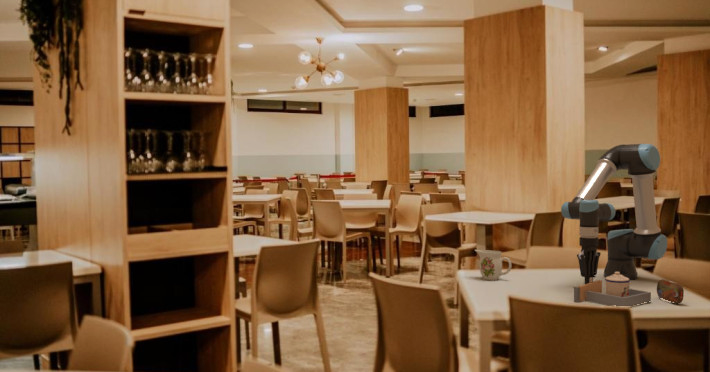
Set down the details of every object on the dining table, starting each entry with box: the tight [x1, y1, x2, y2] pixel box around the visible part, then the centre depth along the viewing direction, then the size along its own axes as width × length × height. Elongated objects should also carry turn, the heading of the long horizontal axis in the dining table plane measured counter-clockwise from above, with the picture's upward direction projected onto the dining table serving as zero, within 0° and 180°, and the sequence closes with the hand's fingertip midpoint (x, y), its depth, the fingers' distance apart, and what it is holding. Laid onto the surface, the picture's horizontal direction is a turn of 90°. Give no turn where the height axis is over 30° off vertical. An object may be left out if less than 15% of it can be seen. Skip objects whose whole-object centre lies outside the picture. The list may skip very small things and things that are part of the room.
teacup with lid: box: [605, 272, 631, 297], centre depth 255 cm, size 12×9×12 cm
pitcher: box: [474, 249, 512, 281], centre depth 306 cm, size 11×18×14 cm, turn 62°
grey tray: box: [573, 286, 652, 307], centre depth 255 cm, size 23×19×6 cm
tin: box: [656, 279, 685, 304], centre depth 254 cm, size 15×3×8 cm, turn 5°
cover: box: [577, 279, 603, 303], centre depth 263 cm, size 19×1×6 cm, turn 133°
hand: (588, 292), depth 267 cm, fingers closed
